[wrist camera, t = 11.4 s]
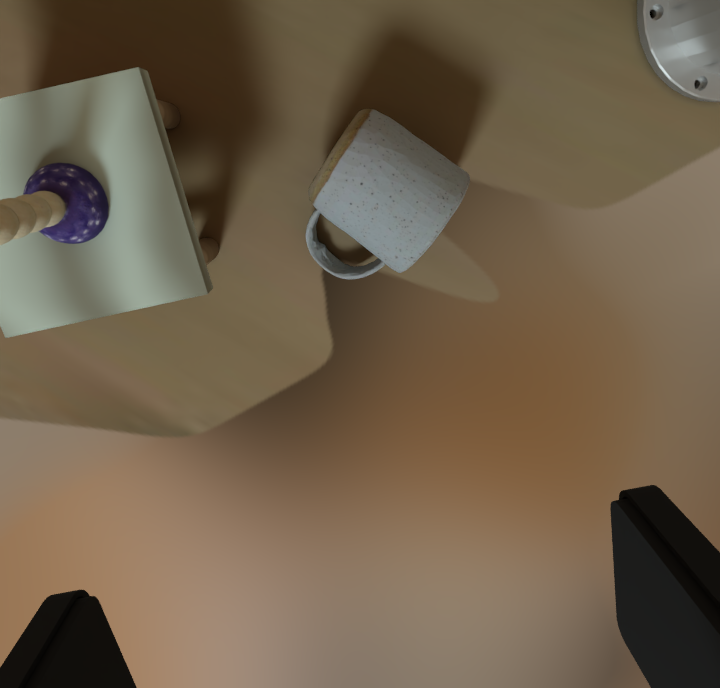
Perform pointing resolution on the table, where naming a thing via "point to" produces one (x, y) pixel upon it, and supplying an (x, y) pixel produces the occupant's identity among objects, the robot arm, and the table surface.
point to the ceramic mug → (383, 194)
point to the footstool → (125, 200)
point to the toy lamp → (56, 206)
